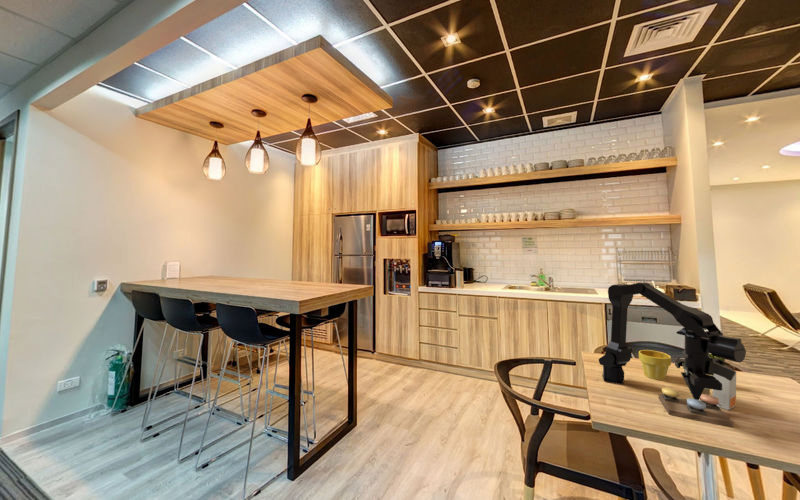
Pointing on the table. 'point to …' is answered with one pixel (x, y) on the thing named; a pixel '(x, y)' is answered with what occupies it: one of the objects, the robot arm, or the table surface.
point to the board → (694, 411)
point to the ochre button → (670, 392)
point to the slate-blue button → (696, 404)
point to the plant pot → (655, 364)
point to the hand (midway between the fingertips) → (696, 399)
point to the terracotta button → (709, 399)
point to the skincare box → (726, 392)
